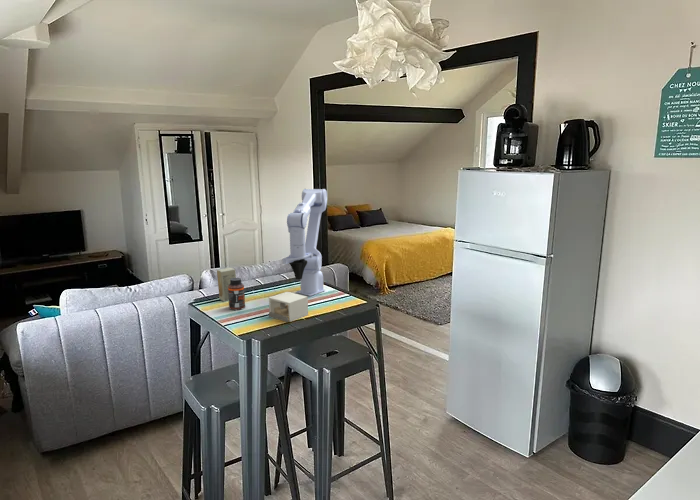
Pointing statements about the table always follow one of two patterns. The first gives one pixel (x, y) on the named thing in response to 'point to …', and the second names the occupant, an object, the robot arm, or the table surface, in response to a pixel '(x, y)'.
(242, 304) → the supplement bottle
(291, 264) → the robot arm
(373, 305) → the table surface
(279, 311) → the beige toy brick
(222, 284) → the skincare box
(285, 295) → the open shelf unit
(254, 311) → the table surface
